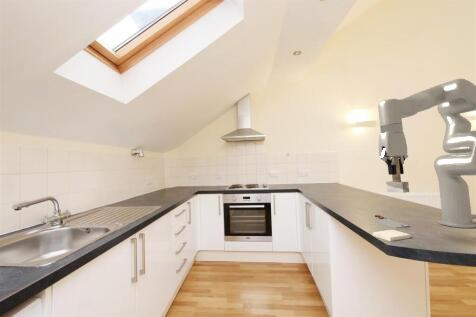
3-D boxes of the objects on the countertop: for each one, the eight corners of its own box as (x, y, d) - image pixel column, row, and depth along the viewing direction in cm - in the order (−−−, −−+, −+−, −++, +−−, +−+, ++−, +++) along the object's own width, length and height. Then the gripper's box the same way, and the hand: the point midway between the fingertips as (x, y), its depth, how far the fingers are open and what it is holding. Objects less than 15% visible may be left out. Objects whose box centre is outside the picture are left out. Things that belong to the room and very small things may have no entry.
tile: (391, 229, 94) (372, 232, 91) (410, 234, 86) (390, 237, 84) (391, 233, 94) (372, 236, 91) (410, 238, 86) (390, 242, 83)
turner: (393, 190, 93) (389, 153, 94) (409, 192, 87) (404, 151, 88) (387, 191, 93) (383, 153, 94) (403, 192, 86) (398, 151, 87)
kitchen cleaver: (363, 215, 124) (381, 214, 123) (363, 217, 124) (382, 216, 123) (387, 227, 100) (411, 225, 99) (387, 230, 100) (411, 228, 99)
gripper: (398, 131, 97) (403, 173, 96) (367, 131, 93) (372, 175, 92) (416, 127, 89) (421, 173, 88) (383, 128, 85) (388, 175, 84)
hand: (396, 173), depth 90 cm, fingers closed on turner, 2 cm apart
